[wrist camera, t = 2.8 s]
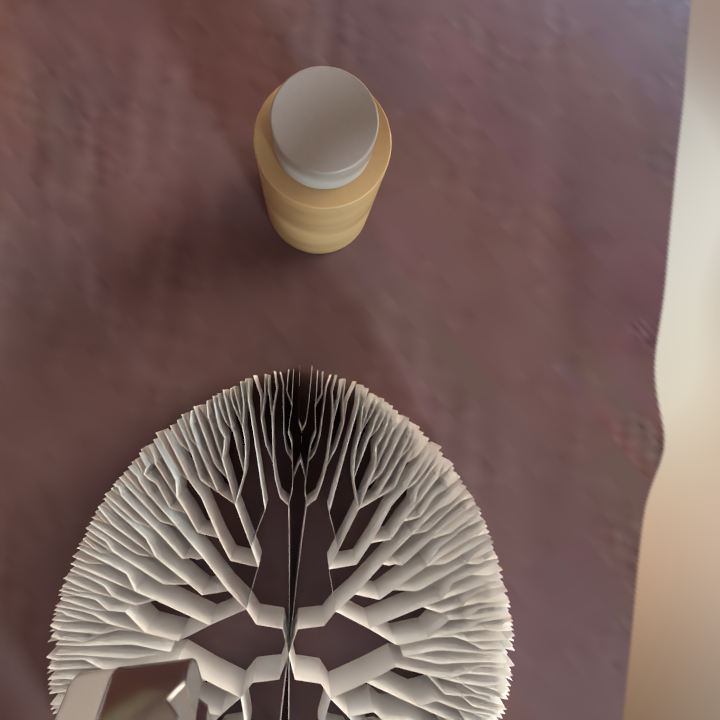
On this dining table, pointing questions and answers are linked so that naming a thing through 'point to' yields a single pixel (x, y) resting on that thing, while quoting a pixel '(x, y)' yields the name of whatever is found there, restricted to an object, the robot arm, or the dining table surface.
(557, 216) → the dining table surface
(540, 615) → the dining table surface
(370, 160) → the tan bottle
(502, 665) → the spiky fractal disc
